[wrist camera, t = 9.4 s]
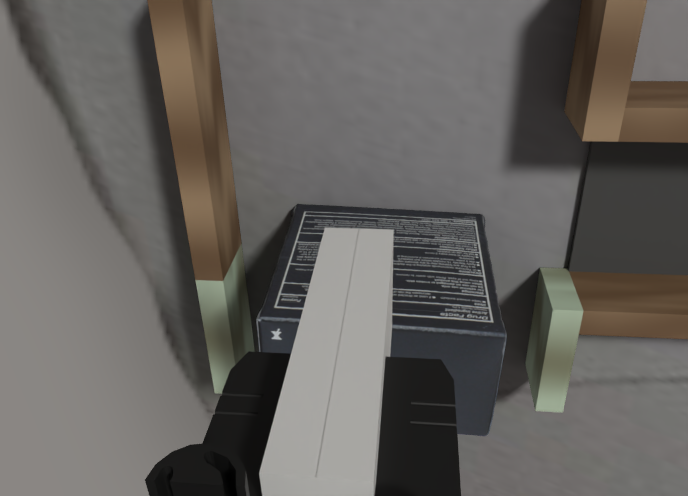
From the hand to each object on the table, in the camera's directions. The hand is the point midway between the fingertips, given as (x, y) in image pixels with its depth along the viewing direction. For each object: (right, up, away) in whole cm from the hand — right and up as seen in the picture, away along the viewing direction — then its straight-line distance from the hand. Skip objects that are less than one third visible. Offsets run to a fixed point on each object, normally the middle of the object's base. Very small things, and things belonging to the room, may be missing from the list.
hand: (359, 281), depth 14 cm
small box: (+2, 0, +22) cm, 22 cm away
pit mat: (+18, +3, +18) cm, 26 cm away
